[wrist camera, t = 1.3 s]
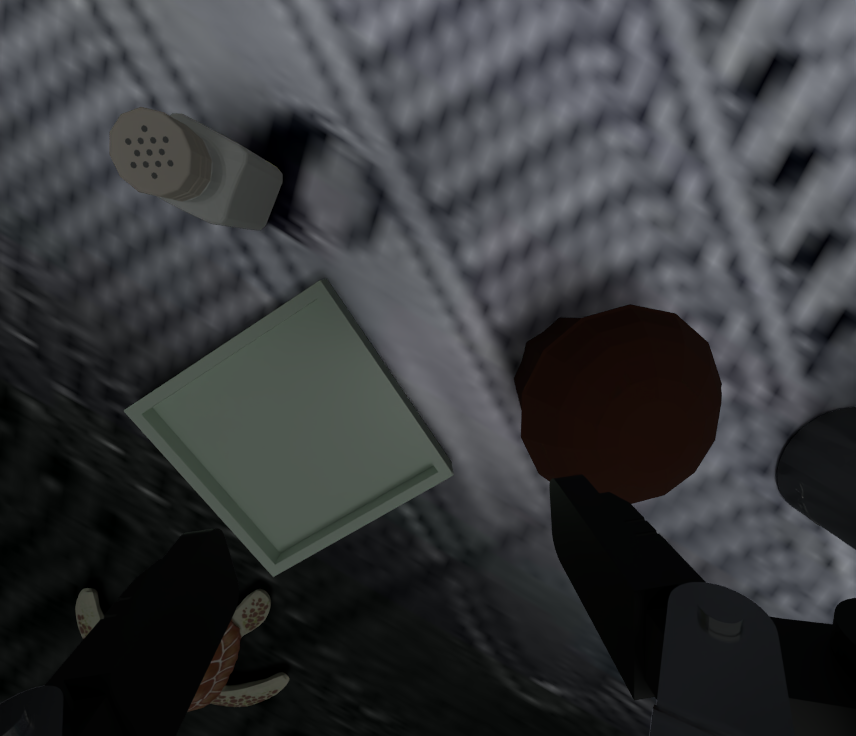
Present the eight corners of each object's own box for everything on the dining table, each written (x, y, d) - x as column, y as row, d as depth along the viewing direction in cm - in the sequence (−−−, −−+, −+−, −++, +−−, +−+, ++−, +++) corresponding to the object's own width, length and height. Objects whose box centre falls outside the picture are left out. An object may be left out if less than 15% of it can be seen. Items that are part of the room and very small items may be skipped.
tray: (326, 278, 27) (320, 280, 25) (451, 462, 31) (453, 475, 29) (141, 401, 29) (123, 410, 27) (280, 559, 33) (273, 576, 31)
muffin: (499, 296, 27) (543, 319, 18) (662, 289, 28) (793, 308, 18) (498, 455, 31) (535, 548, 21) (644, 448, 31) (747, 537, 21)
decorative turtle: (54, 651, 35) (-4, 715, 30) (130, 510, 32) (79, 556, 27) (246, 729, 38) (221, 798, 33) (334, 609, 35) (321, 666, 30)
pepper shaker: (289, 174, 25) (215, 128, 16) (265, 235, 26) (182, 224, 17) (226, 140, 24) (112, 73, 15) (204, 204, 25) (84, 176, 16)
